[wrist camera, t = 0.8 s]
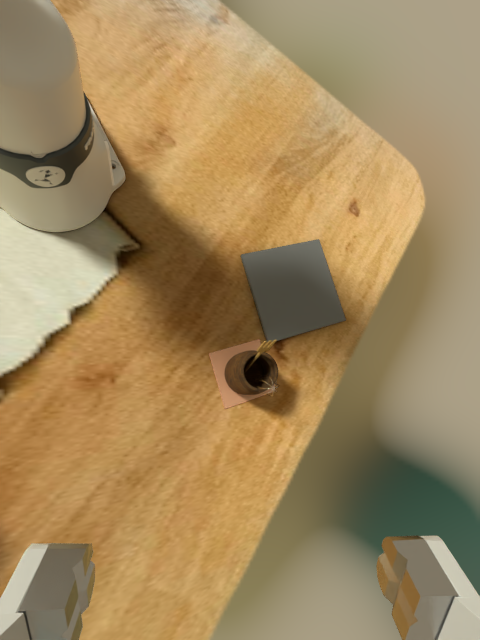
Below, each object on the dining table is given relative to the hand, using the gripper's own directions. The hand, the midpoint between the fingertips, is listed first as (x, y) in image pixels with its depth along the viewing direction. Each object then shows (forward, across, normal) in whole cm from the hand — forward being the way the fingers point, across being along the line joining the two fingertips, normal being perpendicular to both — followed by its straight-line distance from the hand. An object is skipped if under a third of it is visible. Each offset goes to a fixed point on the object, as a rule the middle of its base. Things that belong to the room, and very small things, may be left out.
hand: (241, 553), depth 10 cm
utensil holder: (+38, -4, +15) cm, 41 cm away
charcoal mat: (+46, -12, +5) cm, 48 cm away
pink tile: (+38, -4, +15) cm, 41 cm away
